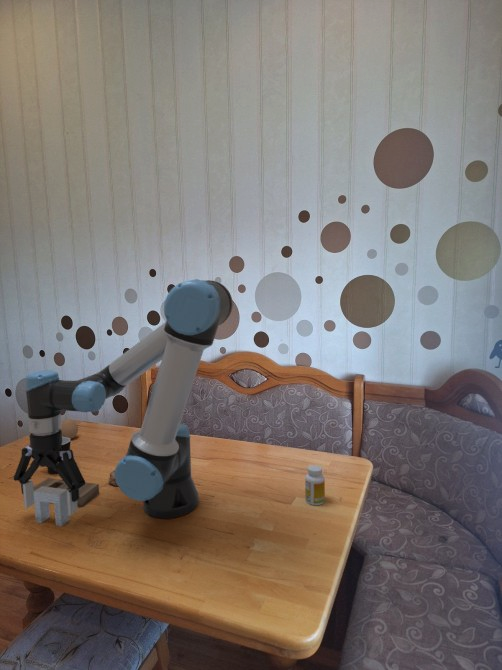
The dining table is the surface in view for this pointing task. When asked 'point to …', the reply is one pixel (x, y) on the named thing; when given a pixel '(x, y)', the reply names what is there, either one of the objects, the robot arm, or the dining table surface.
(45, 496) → the clip
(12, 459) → the dining table surface
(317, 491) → the supplement bottle
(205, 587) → the dining table surface
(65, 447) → the coffee mug
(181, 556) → the dining table surface
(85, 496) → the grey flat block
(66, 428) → the egg
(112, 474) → the cookie
